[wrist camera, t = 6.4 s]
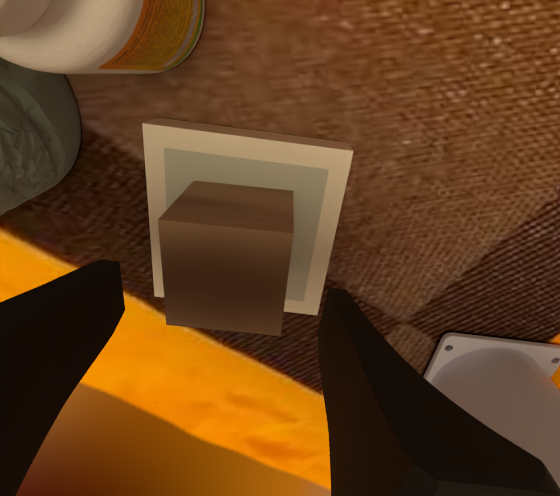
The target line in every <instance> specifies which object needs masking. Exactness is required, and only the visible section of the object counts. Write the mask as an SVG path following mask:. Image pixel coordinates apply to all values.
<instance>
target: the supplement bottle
mask: <svg viewBox="0 0 560 496" xmlns="http://www.w3.org/2000/svg"><path fill="white" fill-rule="evenodd" d="M204 6H205V4H204V0H0V57H1V58H3V59H5V60H7V61H10V62H12V63H14V64H17V65H20V66H23V67H26V68H29V69H33V70H38V71H43V72H51V73H60V74H152V73H159V72H164V71H167V70H169V69H171V68H173V67H175V66H177V65H178V64H180V63H181V62H182V61H183V60H184V59H185V58H186V57H187V56H188V55H189V54H190V53H191V51H192V50H193V48H194V47H195V45H196V43H197V41H198V39H199V36H200V34H201V30H202V26H203V20H204Z"/></svg>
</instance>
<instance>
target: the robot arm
mask: <svg viewBox="0 0 560 496" xmlns="http://www.w3.org/2000/svg"><path fill="white" fill-rule="evenodd" d="M124 311H125V305H124V296H123V288H122V280H121V272H120V264H119V262H117V261H109V260H99V261H96V262H93V263H91V264H88V265H86V266H84V267H81V268H79V269H77V270H75V271H72V272H70V273H68V274H66V275H63V276H61V277H59V278H57V279H55V280H52V281H50V282H48V283H46V284H43V285H41V286H39V287H37V288H34V289H32V290H29V291H27V292H24V293H22V294H20V295H17V296H15V297H12V298H10V299H7V300H5V301H3V302H0V496H15V495H16V493H17V491H18V489H19V487H20V485H21V483H22V481H23V479H24V477H25V475H26V473H27V471H28V469H29V467H30V465H31V464H32V462H33V460H34V458H35V456H36V454H37V452H38V450H39V448H40V447H41V445H42V443H43V441H44V439H45V437H46V435H47V434H48V432H49V430H50V428H51V427H52V425H53V423H54V421H55V420H56V418H57V416H58V414H59V412H60V410H61V409H62V407H63V406H64V404H65V402H66V401H67V399H68V398H69V396H70V395H71V393H72V392H73V390H74V389H75V387H76V386H77V385H78V383H79V382H80V380H81V379H82V377H83V376H84V375H85V373H86V372H87V370H88V369H89V368H90V366H91V365H92V363H93V362H94V361H95V359H96V358H97V356H98V355H99V353H100V352H101V351H102V349H103V348H104V346H105V345H106V343H107V342H108V340H109V339H110V337H111V336H112V334H113V333H114V331H115V329H116V327H117V325H118V323H119V321H120V319H121V317H122V315H123V313H124ZM448 345H449V346H448ZM446 346H447V347H446ZM318 353H319V366H320V373H321V380H322V387H323V394H324V401H325V407H326V414H327V421H328V431H329V447H330V468H331V496H560V390H559V388H558V387H557V386H556V385H555V384H554V383H553V381H552V380H551V379H550V378H551V377H552V375H553V374H554V372H555V371H556V370H557V368H558V367H559V366H560V345H554V344H545V343H537V342H528V341H520V340H511V339H503V338H494V337H486V336H477V335H469V334H460V333H446V334H445V335H443V337H442V338H441V340H440V342H439V345H438V347H437V349H436V351H435V353H434V355H433V357H432V360H431V362H430V364H429V366H428V368H427V370H426V372H425V374H424V377H422V376H421V375H420V374H419V373H418V372H417V371H416V370H415V369H414V368H413V367H412V366H411V365H410V364H408V363H407V362H406V361H405V360H404V359H403V358H402V357H401V356H400V355H399V354H398V353H397V352H396V351H395V349H394V348H393V347H392V346H391V345H390V344H389V343H388V342H387V341H386V340H385V339H384V337H383V336H382V335H381V334H380V333H379V332H378V330H377V329H376V328H375V327H374V326H373V324H372V323H371V322H370V321H369V319H368V318H367V317H366V316H365V314H364V313H363V312H362V310H361V309H360V308H359V306H358V305H357V304H356V302H355V301H354V300H353V298H352V297H351V296H350V294H349V293H348V292H347V290H344V289H336V288H328V292H327V297H326V301H325V305H324V310H323V314H322V318H321V323H320V327H319V331H318Z"/></svg>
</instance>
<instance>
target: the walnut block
mask: <svg viewBox="0 0 560 496" xmlns="http://www.w3.org/2000/svg"><path fill="white" fill-rule="evenodd" d="M158 229H159V241H160V252H161V264H162V276H163V288H164V300H165V312H166V324H167V325H174V326H184V327H194V328H205V329H215V330H225V331H236V332H246V333H256V334H266V335H277V336H281V328H282V320H283V313H284V305H285V297H286V289H287V282H288V274H289V266H290V258H291V251H292V243H293V235H294V207H293V191H290V190H281V189H271V188H262V187H252V186H242V185H233V184H223V183H214V182H204V181H193V182H192V183H191V184H190V185H189V186H188V187H187V188H186V190H185V191H184V192H183V193H182V194H181V195H180V196H179V197H178V198H177V199H176V200H175V201H174V203H173V204H172V205H171V206H170V207H169V208H168V209H167V210H166V211H165V212H164V213H163V214H162V216H161V217H160V218H159V219H158Z"/></svg>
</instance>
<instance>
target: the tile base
mask: <svg viewBox="0 0 560 496" xmlns="http://www.w3.org/2000/svg"><path fill="white" fill-rule="evenodd" d="M142 127H143V141H144V155H145V169H146V183H147V197H148V211H149V225H150V239H151V253H152V267H153V281H154V295H155V296H157V297H164V288H163V276H162V264H161V252H160V241H159V229H158V219H159V218H160V217H161V216H162V214H163V213H164V212H165V211H166V210H167V209H168V208H169V207H170V206H171V205H172V204H173V203H174V201H175V200H176V199H177V198H178V197H179V196H180V195H181V194H182V193H183V192H184V191H185V190H186V188H187V187H188V186H189V185H190V184H191V183H192V182H193V181H204V182H214V183H223V184H233V185H242V186H252V187H262V188H271V189H281V190H290V191H293V207H294V235H293V243H292V251H291V258H290V266H289V274H288V282H287V289H286V297H285V305H284V312H293V313H301V314H310V315H317V314H318V309H319V305H320V300H321V296H322V291H323V287H324V282H325V278H326V273H327V269H328V264H329V260H330V255H331V251H332V246H333V242H334V237H335V233H336V228H337V224H338V219H339V215H340V210H341V206H342V201H343V197H344V192H345V188H346V183H347V179H348V174H349V170H350V165H351V161H352V156H353V152H354V151H353V150H352V148H351V147H350V146H349V145H348V143H347V142H339V141H332V140H324V139H317V138H309V137H302V136H294V135H287V134H279V133H272V132H264V131H256V130H249V129H241V128H234V127H226V126H219V125H211V124H204V123H196V122H189V121H181V120H173V119H166V118H157V119H154V120H151V121H148V122H145V123H142Z"/></svg>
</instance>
